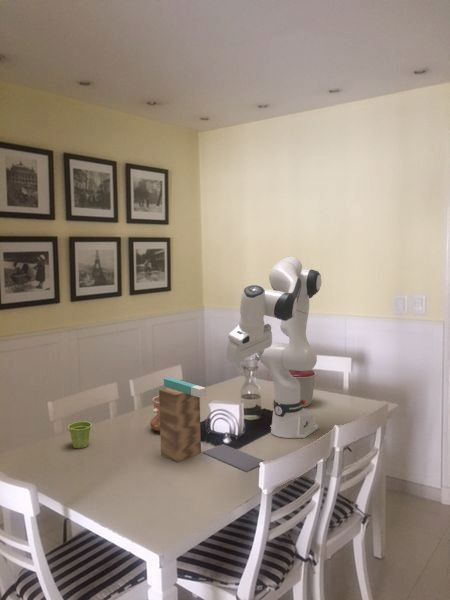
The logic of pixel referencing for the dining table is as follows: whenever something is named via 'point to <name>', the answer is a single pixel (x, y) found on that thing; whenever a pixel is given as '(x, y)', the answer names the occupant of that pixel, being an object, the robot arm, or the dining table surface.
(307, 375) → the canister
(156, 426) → the ceramic jug
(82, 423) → the plant pot
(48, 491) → the dining table surface
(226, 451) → the mat
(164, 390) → the tall stand
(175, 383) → the block
